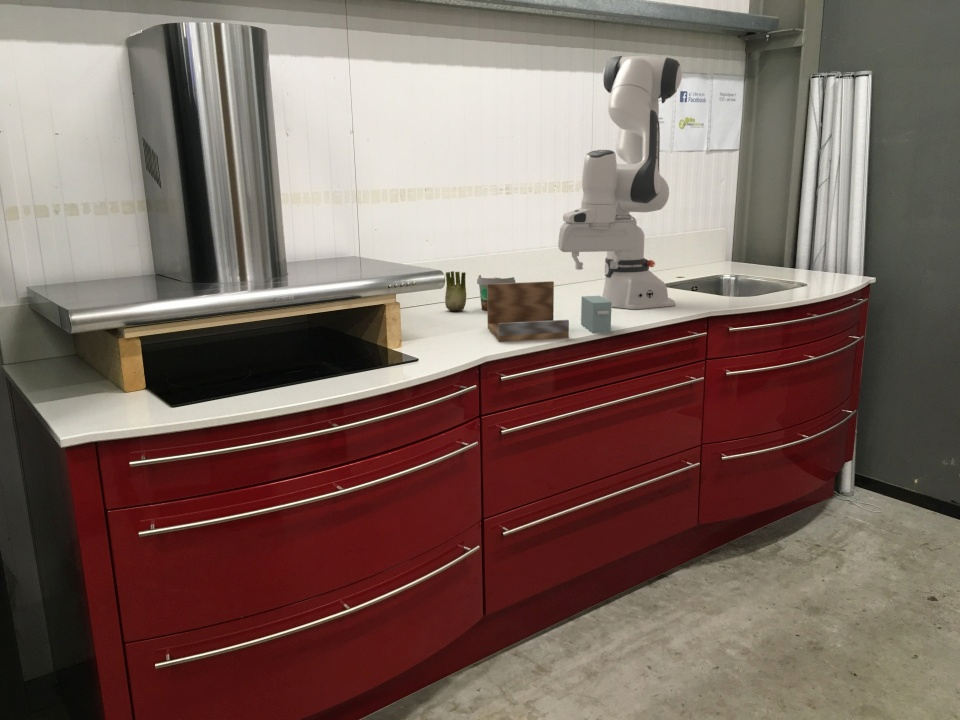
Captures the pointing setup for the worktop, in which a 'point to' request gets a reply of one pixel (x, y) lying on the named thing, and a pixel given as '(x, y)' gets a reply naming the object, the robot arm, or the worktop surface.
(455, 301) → the fennel bulb
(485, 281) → the food container
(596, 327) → the mini cabinet
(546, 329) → the wooden l-shaped stand
